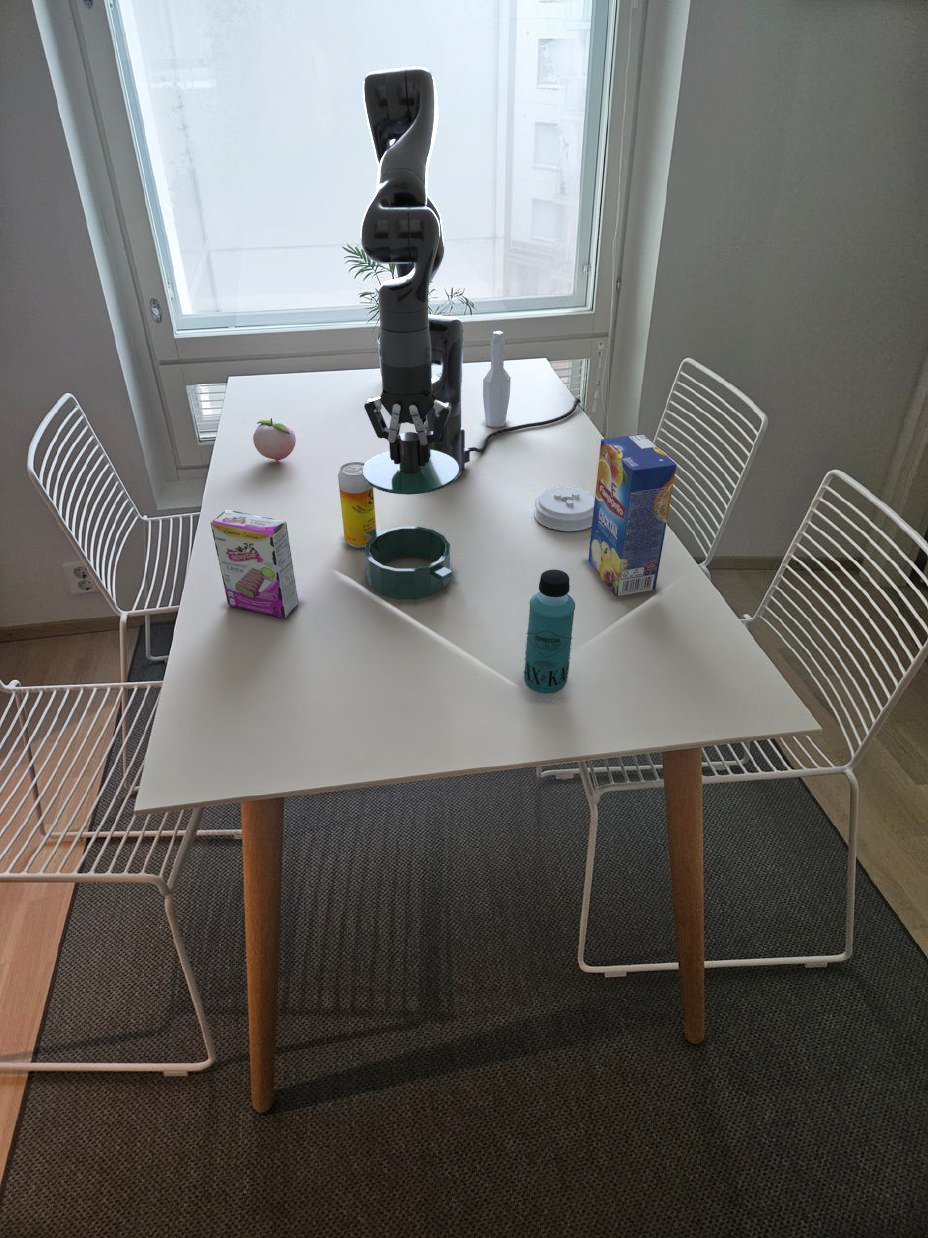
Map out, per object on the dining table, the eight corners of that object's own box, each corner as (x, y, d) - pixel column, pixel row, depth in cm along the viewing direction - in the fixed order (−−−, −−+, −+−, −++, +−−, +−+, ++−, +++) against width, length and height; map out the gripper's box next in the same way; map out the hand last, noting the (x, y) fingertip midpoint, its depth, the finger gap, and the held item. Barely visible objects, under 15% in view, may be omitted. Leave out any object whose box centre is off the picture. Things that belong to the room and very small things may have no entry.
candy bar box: (226, 607, 135) (207, 522, 125) (242, 591, 139) (225, 507, 129) (285, 620, 132) (271, 534, 122) (300, 603, 136) (287, 518, 126)
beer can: (371, 550, 149) (365, 477, 140) (340, 547, 150) (332, 474, 141) (380, 534, 154) (375, 462, 145) (350, 531, 155) (343, 459, 146)
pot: (403, 542, 152) (401, 512, 148) (478, 584, 140) (478, 554, 137) (341, 572, 144) (338, 541, 140) (416, 619, 132) (414, 588, 128)
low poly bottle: (513, 422, 197) (517, 331, 184) (500, 431, 193) (503, 338, 180) (491, 416, 200) (493, 326, 187) (477, 425, 195) (479, 333, 182)
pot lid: (414, 446, 139) (413, 409, 135) (479, 475, 130) (479, 436, 126) (343, 475, 130) (339, 436, 126) (407, 508, 121) (405, 467, 117)
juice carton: (655, 591, 138) (677, 464, 124) (615, 598, 137) (632, 470, 122) (625, 556, 148) (642, 433, 133) (587, 562, 146) (600, 439, 132)
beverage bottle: (519, 675, 121) (526, 563, 109) (563, 672, 121) (574, 561, 109) (526, 704, 116) (533, 590, 104) (571, 701, 116) (584, 588, 104)
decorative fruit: (248, 465, 178) (241, 422, 172) (269, 450, 184) (262, 408, 178) (285, 472, 175) (278, 429, 169) (304, 457, 181) (299, 415, 175)
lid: (606, 511, 161) (608, 488, 158) (586, 541, 152) (588, 517, 149) (546, 498, 165) (548, 476, 162) (524, 526, 156) (525, 504, 153)
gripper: (457, 350, 120) (458, 456, 131) (366, 345, 122) (374, 449, 133) (448, 367, 115) (449, 477, 125) (352, 361, 117) (361, 469, 127)
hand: (410, 462), depth 129 cm, fingers closed on pot lid, 3 cm apart
